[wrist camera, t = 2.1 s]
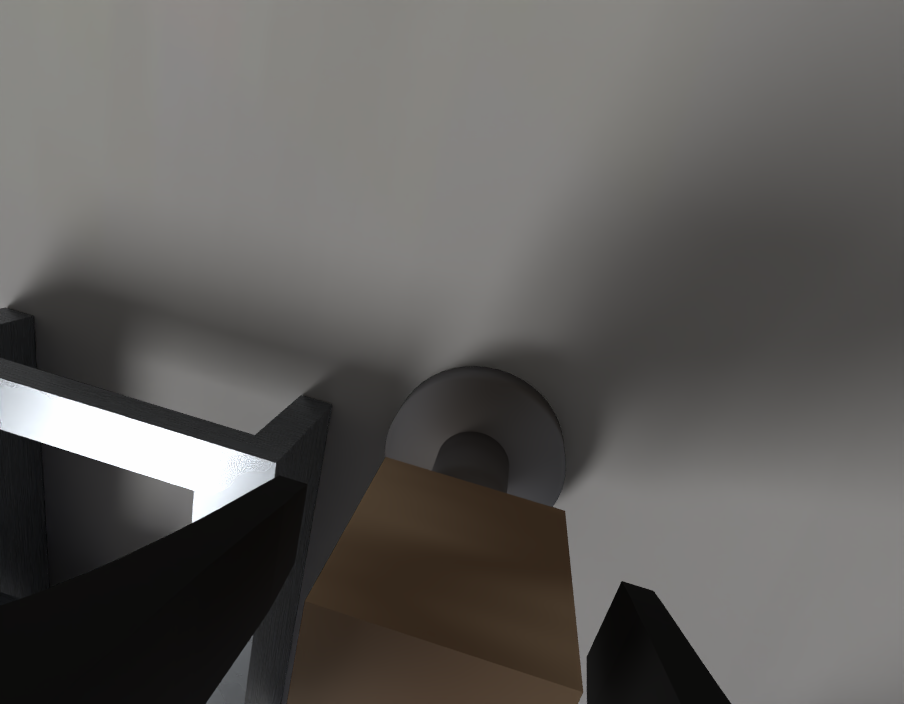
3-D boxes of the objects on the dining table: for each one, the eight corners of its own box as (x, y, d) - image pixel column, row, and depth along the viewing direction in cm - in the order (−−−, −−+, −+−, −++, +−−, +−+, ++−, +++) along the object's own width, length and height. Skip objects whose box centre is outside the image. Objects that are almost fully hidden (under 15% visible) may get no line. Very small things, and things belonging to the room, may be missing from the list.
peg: (587, 395, 13) (662, 670, 6) (534, 538, 15) (536, 902, 7) (413, 345, 14) (259, 540, 6) (380, 491, 15) (227, 789, 8)
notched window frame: (332, 404, 15) (276, 463, 11) (279, 714, 19) (228, 816, 16) (4, 307, 15) (-134, 337, 12) (30, 627, 20) (-65, 709, 17)
